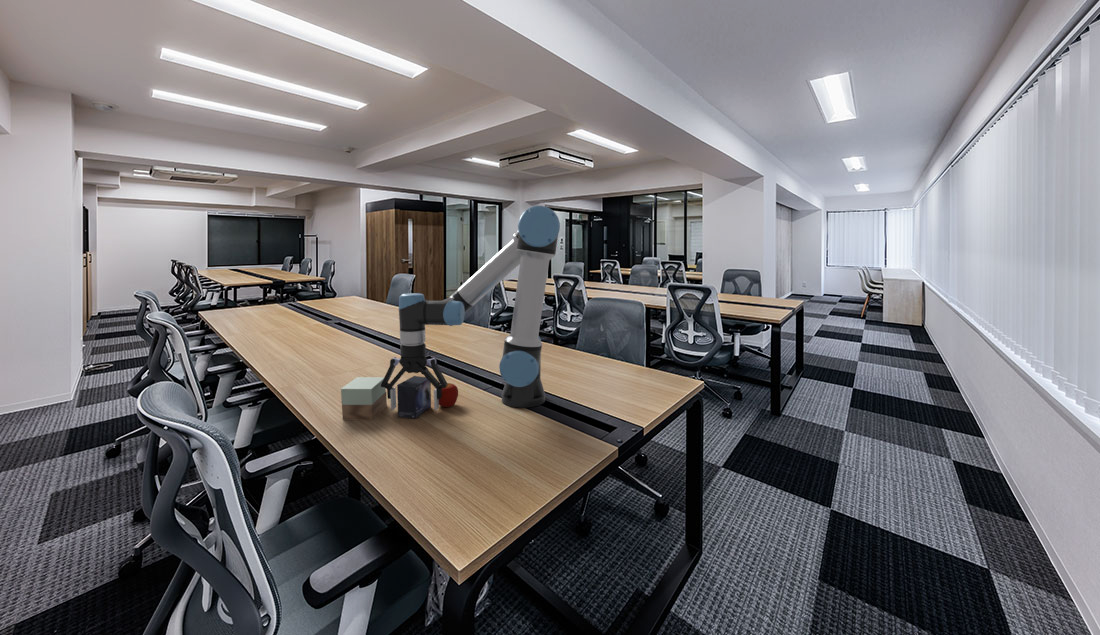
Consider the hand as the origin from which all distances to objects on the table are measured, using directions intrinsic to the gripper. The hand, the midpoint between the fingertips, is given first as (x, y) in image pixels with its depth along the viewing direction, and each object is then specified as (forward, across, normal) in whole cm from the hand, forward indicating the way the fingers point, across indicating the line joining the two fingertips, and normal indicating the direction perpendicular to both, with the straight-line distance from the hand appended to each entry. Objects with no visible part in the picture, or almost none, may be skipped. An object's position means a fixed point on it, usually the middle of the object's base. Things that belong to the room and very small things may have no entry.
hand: (415, 408), depth 136 cm
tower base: (+2, +16, 0) cm, 16 cm away
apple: (+2, -9, -6) cm, 11 cm away
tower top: (-3, +16, 0) cm, 16 cm away
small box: (+2, 0, 0) cm, 2 cm away
